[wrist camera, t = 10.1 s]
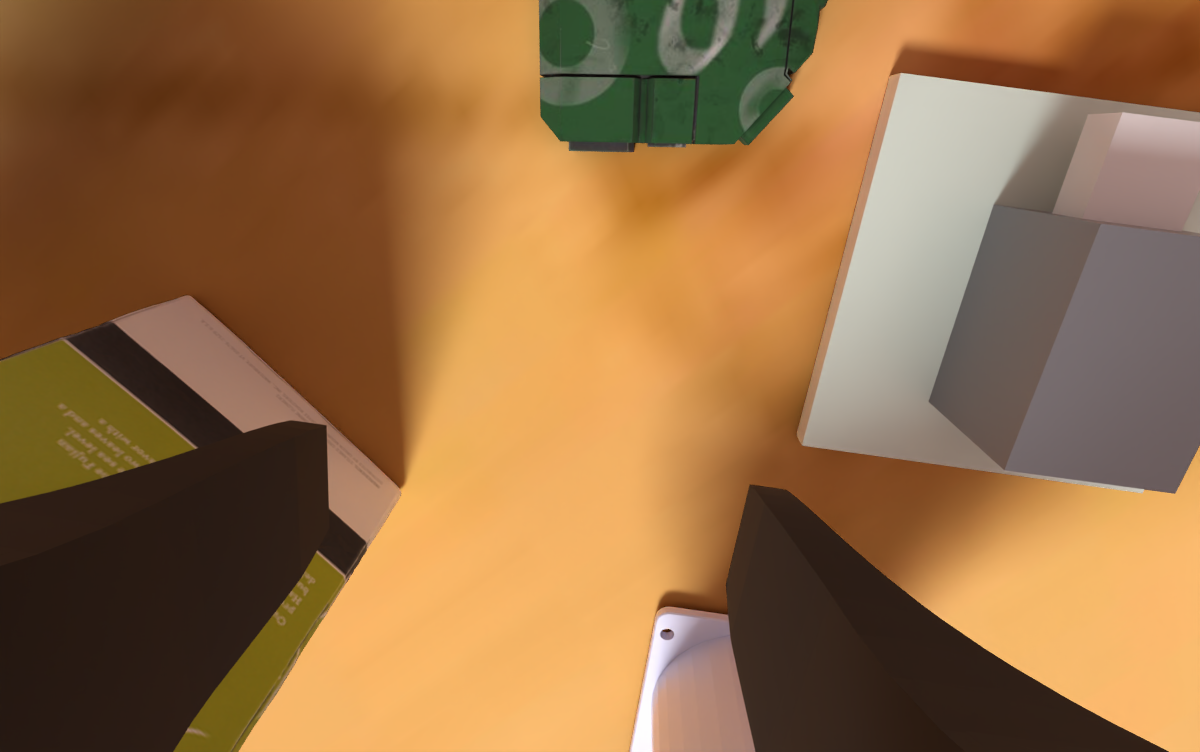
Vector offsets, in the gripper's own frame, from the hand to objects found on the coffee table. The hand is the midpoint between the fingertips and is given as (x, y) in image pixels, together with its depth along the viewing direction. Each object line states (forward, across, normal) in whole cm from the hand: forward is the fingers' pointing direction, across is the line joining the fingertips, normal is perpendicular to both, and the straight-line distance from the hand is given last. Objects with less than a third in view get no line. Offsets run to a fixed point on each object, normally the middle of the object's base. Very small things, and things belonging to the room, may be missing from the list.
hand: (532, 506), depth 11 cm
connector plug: (+10, -13, -4) cm, 17 cm away
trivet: (+10, -13, -3) cm, 17 cm away
